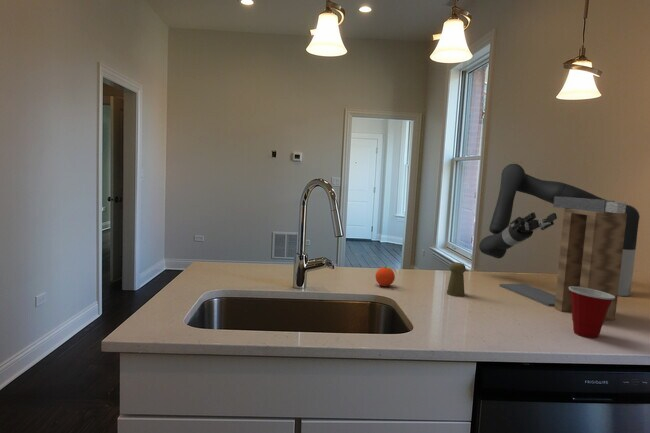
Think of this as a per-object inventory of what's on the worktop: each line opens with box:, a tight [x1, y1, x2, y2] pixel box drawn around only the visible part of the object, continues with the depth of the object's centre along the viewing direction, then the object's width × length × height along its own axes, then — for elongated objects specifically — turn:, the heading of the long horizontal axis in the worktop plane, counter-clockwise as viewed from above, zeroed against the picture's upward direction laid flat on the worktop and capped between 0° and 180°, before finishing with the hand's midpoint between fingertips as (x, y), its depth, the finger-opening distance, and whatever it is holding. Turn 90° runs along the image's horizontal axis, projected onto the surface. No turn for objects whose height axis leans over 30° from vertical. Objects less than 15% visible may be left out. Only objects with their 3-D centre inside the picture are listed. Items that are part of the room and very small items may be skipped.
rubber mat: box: [499, 283, 556, 307], centre depth 158 cm, size 11×26×1 cm, turn 14°
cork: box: [446, 262, 467, 298], centre depth 154 cm, size 6×6×11 cm
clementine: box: [375, 266, 397, 287], centre depth 161 cm, size 8×7×7 cm
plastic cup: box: [569, 286, 615, 339], centre depth 118 cm, size 11×11×12 cm
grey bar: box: [552, 196, 627, 213], centre depth 137 cm, size 4×24×4 cm, turn 14°
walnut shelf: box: [553, 208, 627, 321], centre depth 136 cm, size 11×12×32 cm
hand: (545, 215), depth 155 cm, fingers open, 8 cm apart
